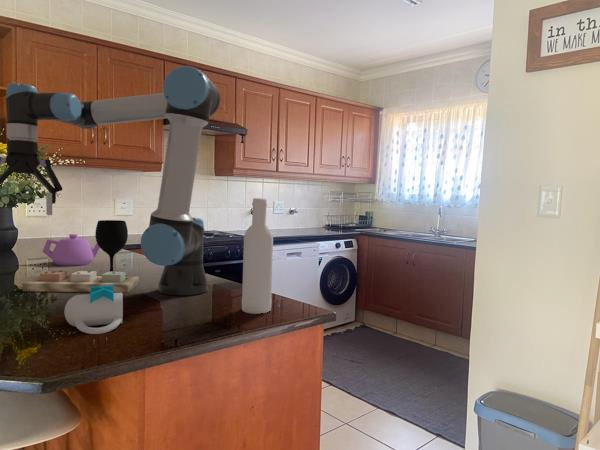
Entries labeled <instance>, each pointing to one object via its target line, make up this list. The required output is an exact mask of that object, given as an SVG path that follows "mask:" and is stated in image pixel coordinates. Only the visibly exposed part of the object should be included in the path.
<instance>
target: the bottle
mask: <svg viewBox="0 0 600 450" xmlns="http://www.w3.org/2000/svg"><path fill="white" fill-rule="evenodd" d="M251 206H252V214H251V215H252V217H251V218H252V219H251V220H252V221H251V223H252V224H251V225H250V226H249V227H248V228H247V229H246V231H245V233H244V236H243V253H242V254H243V255H242V258H243V259H242V292H241V293H242V296H241V310H242V312H244V313H247V314H253V315H256V314H257V315H259V314H260V315H262V314H261V313H263V314H266V313H267V312H268V313H269V311H270V312H271V310H272V305H273V304H272V288H273V287H272V286H273V260H274V259H273V258H274V254H273V253H274V236H273V232H272V230H271V229H270V227H268V226H267V206H268V202H267V199H266V198H262V197H261V198H257V197H256V198H255V197H254V198H253V199H252V204H251ZM268 313H267V314H268Z"/></svg>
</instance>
